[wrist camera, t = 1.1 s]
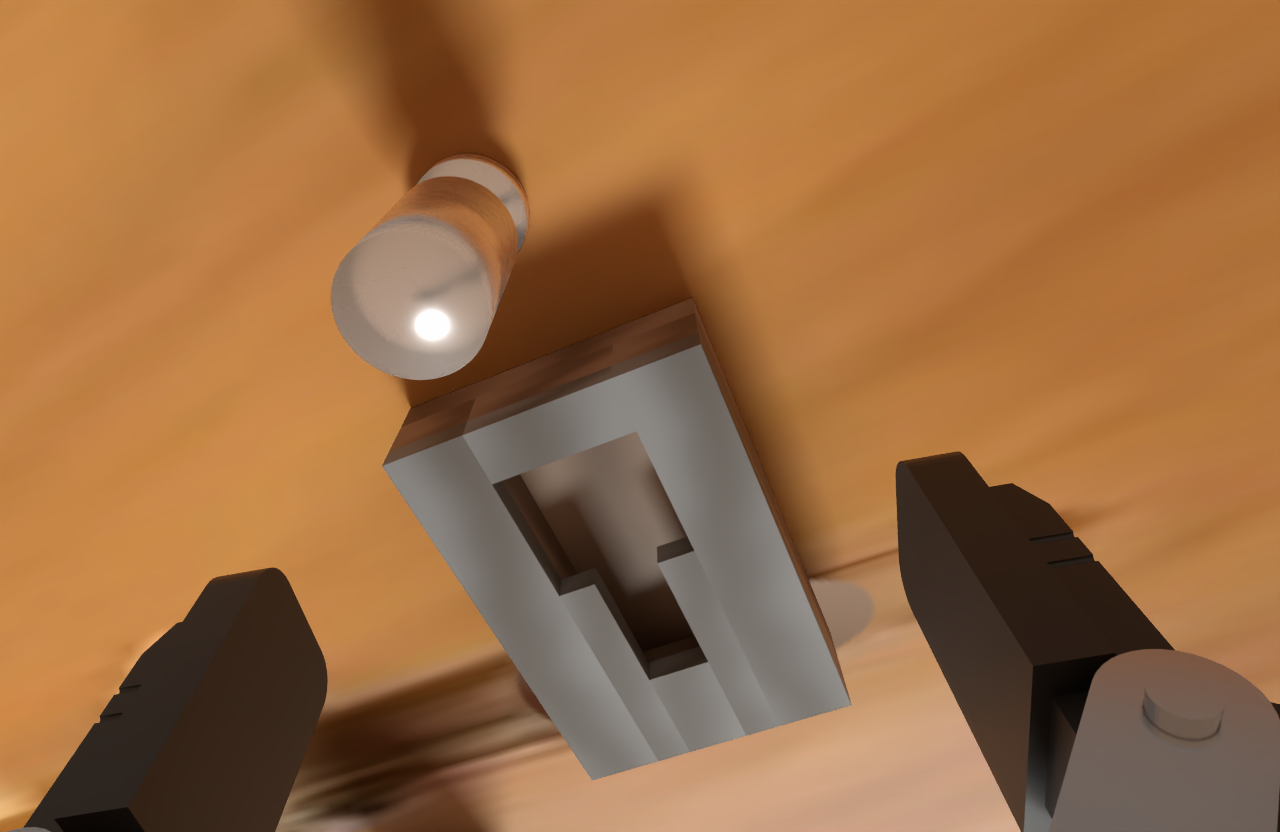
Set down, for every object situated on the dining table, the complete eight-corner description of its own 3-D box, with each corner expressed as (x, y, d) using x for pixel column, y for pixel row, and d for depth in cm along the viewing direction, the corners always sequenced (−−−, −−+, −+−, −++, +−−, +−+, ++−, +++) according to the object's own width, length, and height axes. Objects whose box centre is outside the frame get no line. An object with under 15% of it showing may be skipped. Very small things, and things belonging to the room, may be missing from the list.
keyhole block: (692, 297, 31) (700, 344, 27) (830, 633, 39) (851, 705, 35) (410, 408, 33) (381, 465, 30) (595, 705, 41) (592, 780, 38)
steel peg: (497, 134, 28) (441, 206, 20) (548, 241, 30) (516, 347, 22) (394, 181, 29) (299, 269, 21) (450, 282, 31) (383, 400, 23)
